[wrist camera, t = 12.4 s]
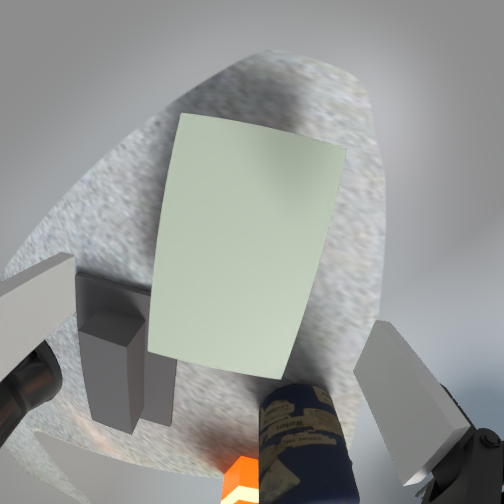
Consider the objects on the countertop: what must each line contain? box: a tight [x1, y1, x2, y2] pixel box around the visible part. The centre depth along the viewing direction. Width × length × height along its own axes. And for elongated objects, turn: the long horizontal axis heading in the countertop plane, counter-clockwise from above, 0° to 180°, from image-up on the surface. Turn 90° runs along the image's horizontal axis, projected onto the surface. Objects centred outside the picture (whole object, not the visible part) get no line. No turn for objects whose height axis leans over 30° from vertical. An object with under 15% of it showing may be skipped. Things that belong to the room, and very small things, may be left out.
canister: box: [258, 384, 360, 504], centre depth 24 cm, size 10×10×18 cm
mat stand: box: [75, 272, 177, 435], centre depth 28 cm, size 13×20×6 cm, turn 168°
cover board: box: [148, 113, 347, 380], centre depth 20 cm, size 11×18×2 cm, turn 168°
